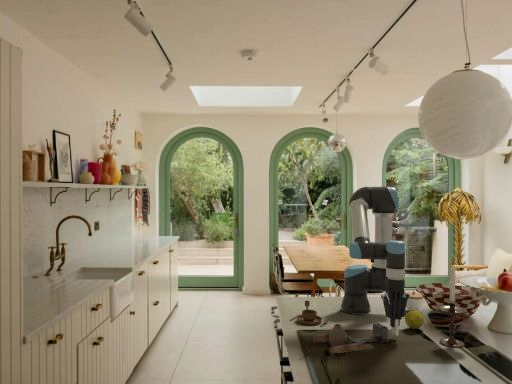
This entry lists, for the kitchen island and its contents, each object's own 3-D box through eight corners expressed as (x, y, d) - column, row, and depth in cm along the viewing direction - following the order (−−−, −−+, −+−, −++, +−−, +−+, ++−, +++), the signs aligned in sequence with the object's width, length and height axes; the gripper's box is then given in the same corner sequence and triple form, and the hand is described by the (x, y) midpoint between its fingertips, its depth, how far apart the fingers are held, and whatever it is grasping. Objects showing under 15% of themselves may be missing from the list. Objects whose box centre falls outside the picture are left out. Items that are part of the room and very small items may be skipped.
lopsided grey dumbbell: (376, 336, 180) (376, 322, 179) (390, 343, 171) (390, 328, 171) (343, 340, 174) (343, 326, 174) (355, 348, 165) (356, 333, 165)
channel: (343, 338, 177) (343, 331, 177) (363, 351, 163) (363, 343, 163) (313, 342, 172) (313, 335, 172) (331, 356, 159) (331, 348, 159)
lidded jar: (426, 308, 223) (426, 290, 223) (422, 313, 214) (422, 294, 214) (405, 305, 228) (405, 287, 228) (400, 310, 219) (400, 292, 219)
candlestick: (441, 337, 179) (442, 255, 178) (469, 344, 172) (470, 257, 171) (433, 345, 170) (434, 258, 170) (462, 351, 163) (463, 261, 163)
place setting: (286, 321, 201) (286, 309, 201) (304, 311, 218) (304, 300, 218) (321, 328, 192) (321, 315, 192) (337, 317, 209) (337, 305, 209)
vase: (336, 351, 163) (336, 328, 163) (325, 345, 169) (325, 323, 169) (350, 348, 166) (350, 326, 166) (339, 342, 173) (339, 321, 172)
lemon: (411, 323, 197) (411, 306, 197) (427, 327, 191) (427, 310, 191) (400, 329, 189) (400, 311, 189) (417, 333, 184) (417, 315, 184)
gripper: (402, 275, 183) (401, 329, 183) (376, 277, 178) (376, 333, 178) (414, 278, 176) (413, 335, 176) (388, 280, 171) (387, 339, 171)
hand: (394, 334), depth 177 cm, fingers closed
